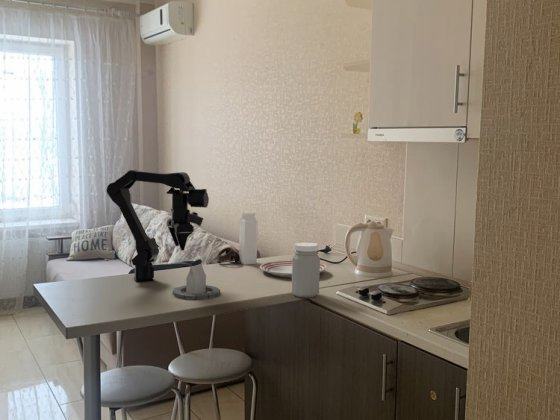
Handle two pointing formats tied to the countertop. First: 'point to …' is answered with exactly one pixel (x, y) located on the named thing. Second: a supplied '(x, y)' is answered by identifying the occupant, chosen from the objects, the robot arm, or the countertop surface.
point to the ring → (178, 293)
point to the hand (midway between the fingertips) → (179, 248)
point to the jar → (305, 270)
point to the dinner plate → (283, 268)
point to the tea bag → (196, 280)
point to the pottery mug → (228, 255)
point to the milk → (248, 239)
